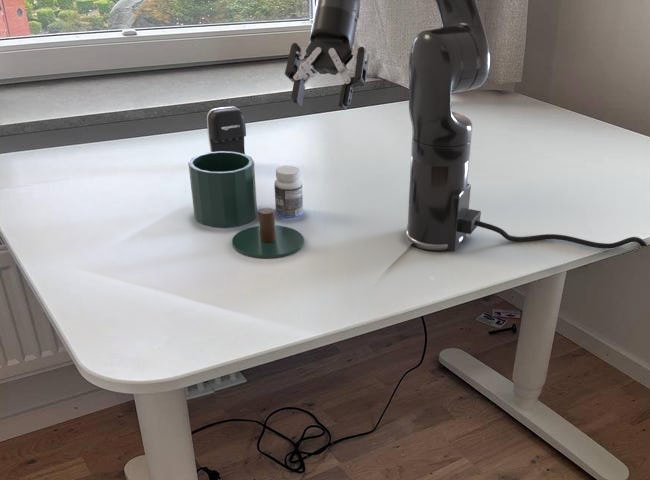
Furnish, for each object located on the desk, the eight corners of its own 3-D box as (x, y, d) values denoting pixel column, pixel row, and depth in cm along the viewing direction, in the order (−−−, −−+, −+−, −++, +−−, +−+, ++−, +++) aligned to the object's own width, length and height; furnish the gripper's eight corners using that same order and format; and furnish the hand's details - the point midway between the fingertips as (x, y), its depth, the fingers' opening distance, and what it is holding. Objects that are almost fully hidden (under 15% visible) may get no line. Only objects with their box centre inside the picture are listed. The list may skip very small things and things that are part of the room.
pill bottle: (272, 212, 136) (269, 166, 132) (298, 209, 138) (296, 163, 133) (280, 223, 133) (278, 175, 128) (306, 219, 135) (305, 172, 130)
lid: (316, 239, 128) (315, 204, 124) (281, 267, 119) (279, 231, 116) (257, 226, 131) (254, 191, 128) (218, 252, 123) (214, 216, 119)
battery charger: (217, 173, 151) (211, 114, 144) (210, 166, 153) (204, 108, 147) (250, 167, 154) (246, 109, 148) (243, 161, 157) (239, 104, 150)
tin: (268, 213, 136) (265, 157, 130) (235, 235, 128) (230, 177, 122) (218, 202, 139) (212, 147, 134) (182, 223, 131) (175, 166, 126)
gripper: (290, 2, 133) (273, 95, 133) (368, 5, 129) (350, 100, 129) (307, 24, 140) (291, 111, 140) (381, 27, 136) (364, 117, 136)
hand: (319, 106), depth 134 cm, fingers open, 8 cm apart
